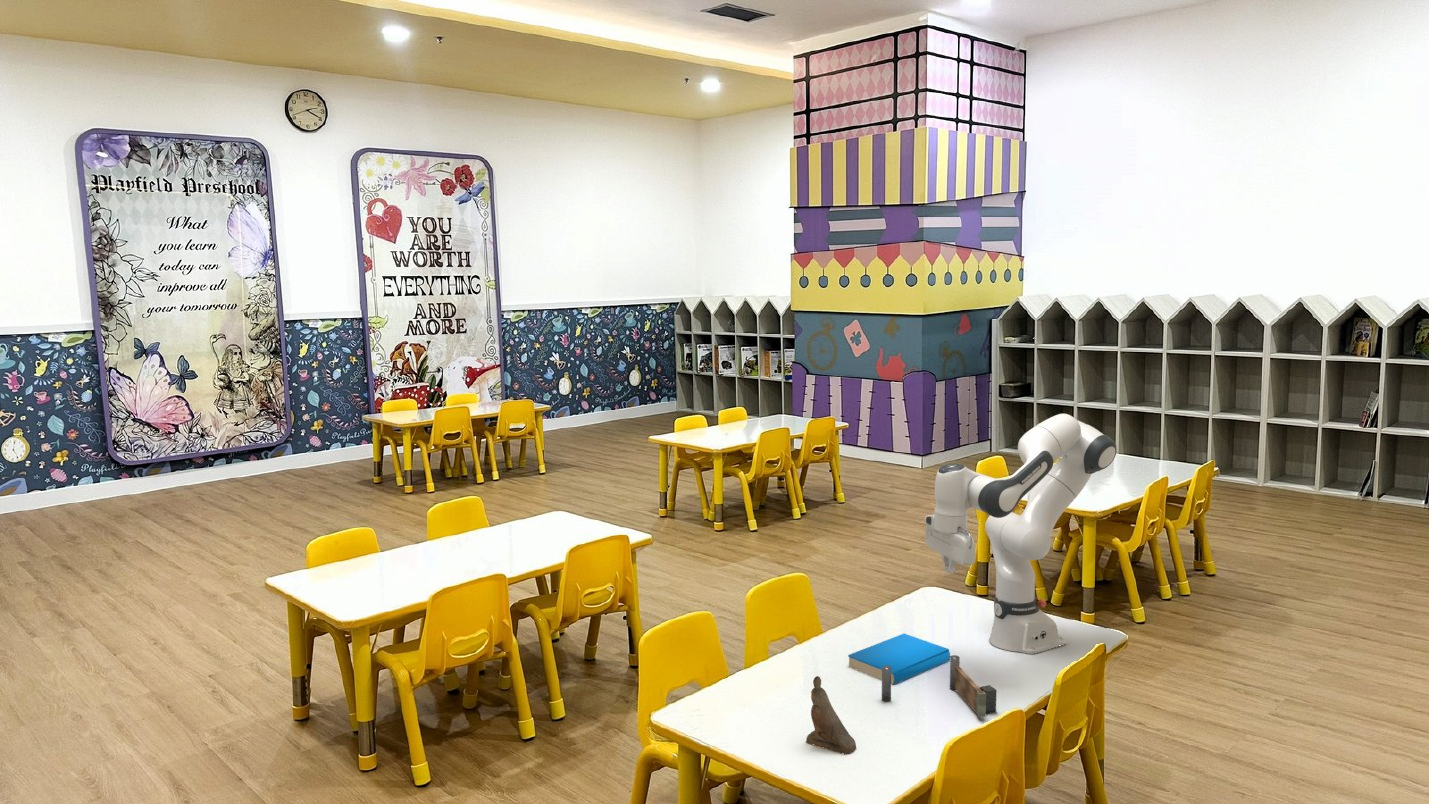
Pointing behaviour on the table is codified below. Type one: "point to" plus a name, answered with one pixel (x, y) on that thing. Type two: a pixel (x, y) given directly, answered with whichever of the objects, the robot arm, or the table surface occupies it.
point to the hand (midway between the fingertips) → (949, 571)
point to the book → (899, 657)
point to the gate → (970, 692)
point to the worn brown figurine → (827, 724)
